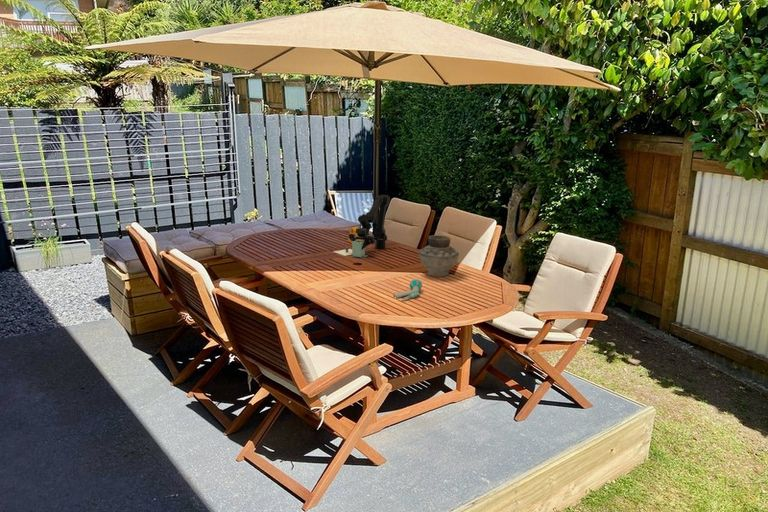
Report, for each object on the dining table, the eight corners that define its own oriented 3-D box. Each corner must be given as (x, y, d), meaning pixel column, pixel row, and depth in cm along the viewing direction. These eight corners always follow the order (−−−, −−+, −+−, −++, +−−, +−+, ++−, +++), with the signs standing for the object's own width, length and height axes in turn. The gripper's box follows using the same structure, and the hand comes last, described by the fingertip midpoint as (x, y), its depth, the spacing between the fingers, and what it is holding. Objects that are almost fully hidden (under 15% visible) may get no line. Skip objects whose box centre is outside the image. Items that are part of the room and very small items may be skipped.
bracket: (364, 243, 451) (364, 228, 448) (356, 244, 447) (356, 229, 444) (355, 240, 460) (355, 225, 457) (348, 241, 455) (348, 226, 452)
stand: (355, 255, 414) (355, 248, 413) (368, 257, 410) (368, 250, 409) (348, 259, 405) (348, 252, 404) (361, 260, 401) (361, 253, 400)
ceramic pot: (435, 266, 390) (437, 231, 384) (465, 274, 373) (467, 237, 367) (410, 273, 373) (410, 236, 367) (440, 282, 356) (441, 243, 350)
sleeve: (356, 254, 411) (356, 240, 409) (364, 255, 409) (364, 241, 406) (352, 256, 406) (352, 242, 403) (360, 257, 403) (360, 243, 401)
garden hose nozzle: (399, 295, 319) (433, 287, 326) (387, 283, 334) (419, 276, 341) (400, 307, 322) (433, 299, 329) (388, 295, 337) (419, 287, 344)
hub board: (349, 250, 428) (349, 244, 427) (360, 254, 417) (360, 247, 416) (333, 253, 419) (333, 246, 418) (344, 257, 409) (344, 250, 408)
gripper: (349, 222, 409) (341, 241, 402) (373, 224, 401) (365, 244, 394) (355, 231, 418) (347, 249, 411) (378, 234, 410) (371, 252, 403)
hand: (357, 248), depth 405 cm, fingers closed on sleeve, 6 cm apart
